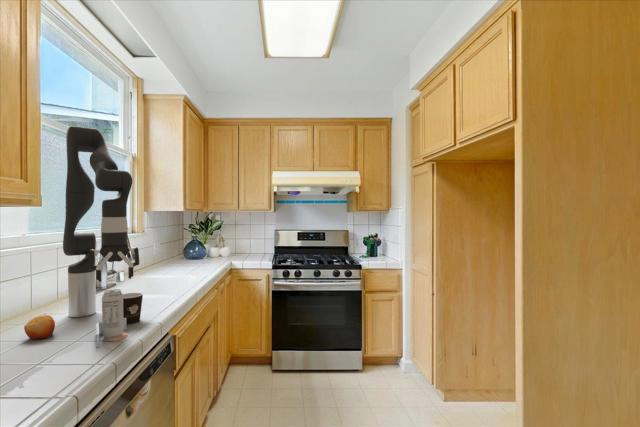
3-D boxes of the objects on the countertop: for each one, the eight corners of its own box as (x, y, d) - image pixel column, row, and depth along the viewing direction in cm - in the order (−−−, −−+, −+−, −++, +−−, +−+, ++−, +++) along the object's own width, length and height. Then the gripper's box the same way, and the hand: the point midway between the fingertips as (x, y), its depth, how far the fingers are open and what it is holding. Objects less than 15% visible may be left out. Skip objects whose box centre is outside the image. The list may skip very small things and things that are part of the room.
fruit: (65, 326, 124) (56, 310, 119) (51, 346, 117) (41, 329, 113) (41, 327, 123) (31, 311, 119) (26, 346, 117) (15, 330, 112)
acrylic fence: (96, 333, 120) (96, 322, 120) (126, 329, 125) (126, 317, 125) (96, 347, 108) (96, 334, 108) (129, 341, 113) (129, 329, 113)
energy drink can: (127, 333, 120) (126, 288, 120) (116, 339, 114) (116, 293, 114) (109, 333, 120) (109, 289, 120) (98, 339, 114) (97, 293, 114)
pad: (103, 336, 118) (103, 335, 118) (126, 332, 122) (126, 331, 122) (103, 342, 112) (103, 341, 112) (128, 338, 116) (128, 337, 116)
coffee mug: (144, 317, 139) (143, 291, 139) (141, 323, 131) (141, 296, 131) (110, 320, 135) (109, 294, 134) (105, 327, 127) (105, 300, 126)
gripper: (137, 229, 124) (138, 275, 124) (88, 230, 116) (89, 280, 116) (140, 230, 117) (140, 279, 118) (88, 232, 110) (89, 284, 110)
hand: (115, 279), depth 117 cm, fingers open, 8 cm apart
